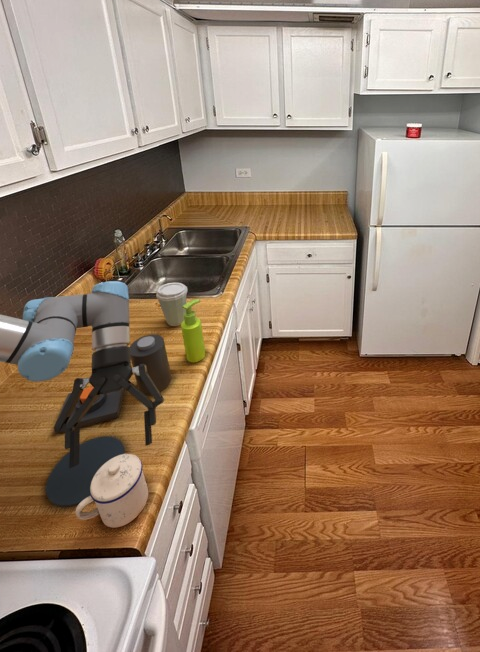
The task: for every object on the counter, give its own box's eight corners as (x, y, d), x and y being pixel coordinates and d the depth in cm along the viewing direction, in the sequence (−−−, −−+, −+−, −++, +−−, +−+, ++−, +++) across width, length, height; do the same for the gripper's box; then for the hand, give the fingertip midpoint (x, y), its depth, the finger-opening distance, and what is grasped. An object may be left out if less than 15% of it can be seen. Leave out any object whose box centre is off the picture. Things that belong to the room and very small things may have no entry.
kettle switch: (79, 406, 86) (77, 400, 86) (83, 394, 90) (81, 388, 89) (97, 402, 88) (95, 396, 87) (100, 390, 91) (98, 384, 90)
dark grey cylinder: (136, 398, 93) (124, 356, 87) (141, 370, 102) (131, 330, 97) (170, 390, 96) (162, 348, 90) (172, 363, 105) (165, 324, 100)
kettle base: (55, 433, 83) (51, 422, 82) (70, 398, 93) (66, 388, 91) (118, 417, 87) (115, 406, 86) (126, 385, 97) (123, 375, 96)
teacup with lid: (144, 471, 75) (133, 435, 70) (154, 507, 68) (144, 470, 64) (80, 509, 68) (65, 472, 63) (85, 554, 61) (68, 515, 57)
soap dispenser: (211, 352, 110) (204, 301, 103) (194, 365, 105) (185, 312, 97) (200, 345, 113) (192, 295, 106) (182, 357, 108) (173, 305, 100)
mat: (34, 518, 66) (33, 516, 66) (60, 449, 79) (59, 447, 79) (118, 491, 71) (117, 490, 71) (130, 430, 84) (129, 428, 84)
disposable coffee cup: (178, 310, 132) (172, 277, 126) (198, 317, 127) (193, 283, 122) (155, 325, 123) (148, 290, 117) (176, 333, 119) (170, 298, 113)
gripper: (172, 338, 83) (179, 433, 76) (54, 363, 75) (49, 471, 68) (167, 334, 77) (174, 438, 69) (37, 361, 69) (30, 480, 61)
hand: (112, 455), depth 68 cm, fingers open, 13 cm apart
